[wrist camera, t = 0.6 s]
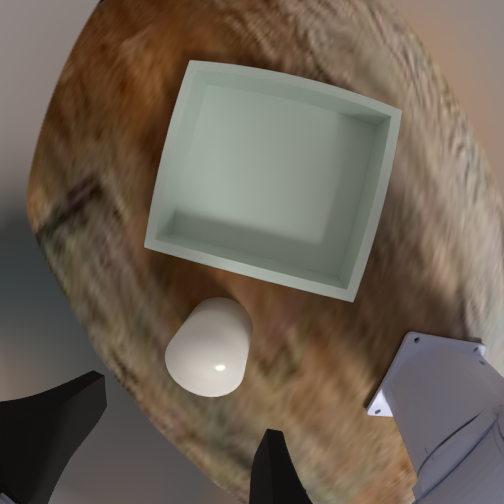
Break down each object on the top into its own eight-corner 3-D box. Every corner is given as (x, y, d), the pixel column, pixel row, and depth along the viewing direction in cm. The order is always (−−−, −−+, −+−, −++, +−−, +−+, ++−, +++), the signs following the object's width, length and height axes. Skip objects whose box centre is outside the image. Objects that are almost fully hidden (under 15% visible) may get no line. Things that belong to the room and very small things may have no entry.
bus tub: (384, 122, 15) (402, 110, 13) (342, 285, 18) (353, 302, 15) (203, 78, 16) (189, 60, 13) (163, 238, 18) (144, 247, 15)
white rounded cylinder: (259, 306, 19) (252, 344, 14) (244, 360, 20) (234, 404, 15) (195, 289, 19) (169, 320, 14) (186, 343, 20) (162, 382, 15)
